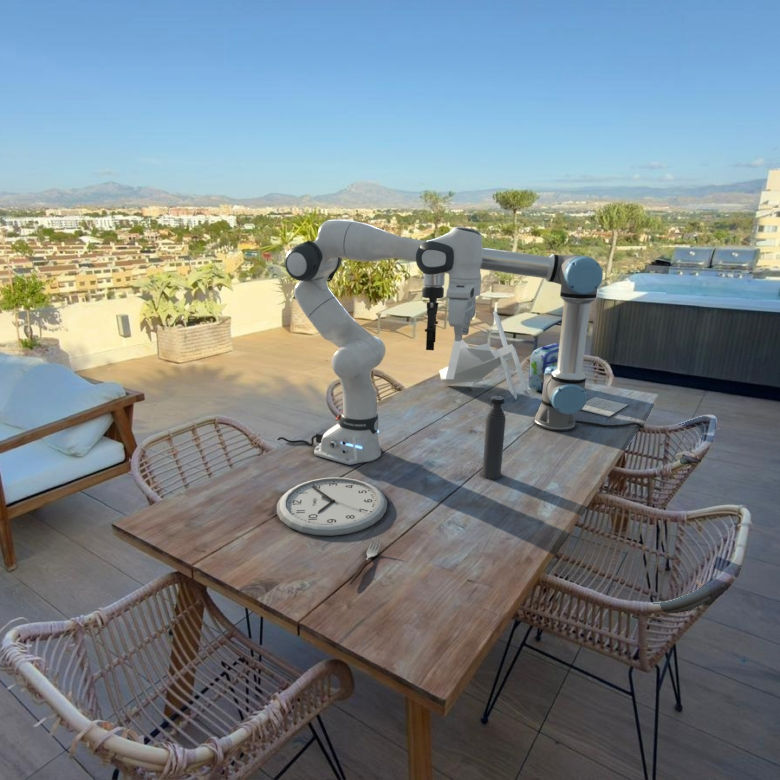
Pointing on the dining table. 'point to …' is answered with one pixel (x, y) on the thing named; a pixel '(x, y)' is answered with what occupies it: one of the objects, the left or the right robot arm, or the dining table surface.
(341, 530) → the wall clock
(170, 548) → the dining table surface
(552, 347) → the lunch box
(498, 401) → the cap
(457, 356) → the white plastic object
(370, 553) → the fork
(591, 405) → the invitation card
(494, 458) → the bottle
